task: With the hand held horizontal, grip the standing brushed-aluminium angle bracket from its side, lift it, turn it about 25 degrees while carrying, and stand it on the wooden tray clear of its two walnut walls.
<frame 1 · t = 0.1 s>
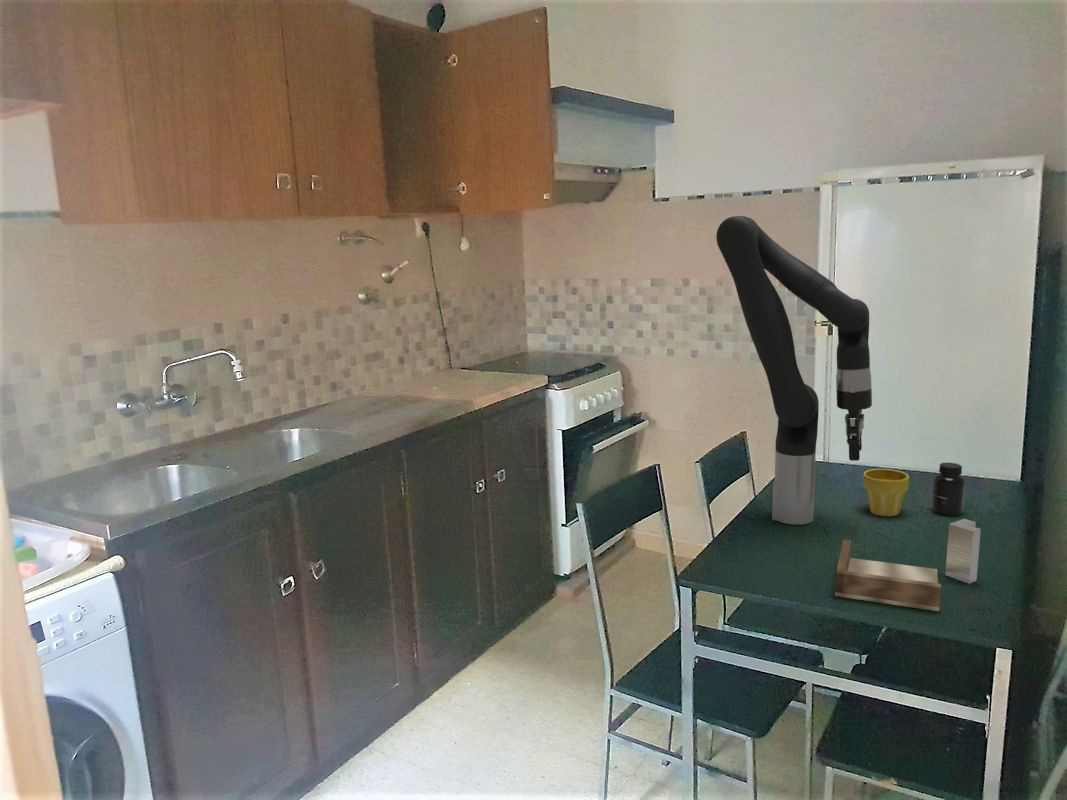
hand: (855, 455, 186), 17 cm above the table, tool pointing down, fingers open, 8 cm apart
supplement bottle: (946, 512, 196), on the table
bracket: (964, 576, 160), on the table
plant pot: (884, 512, 197), on the table
wooden tray: (887, 584, 158), on the table
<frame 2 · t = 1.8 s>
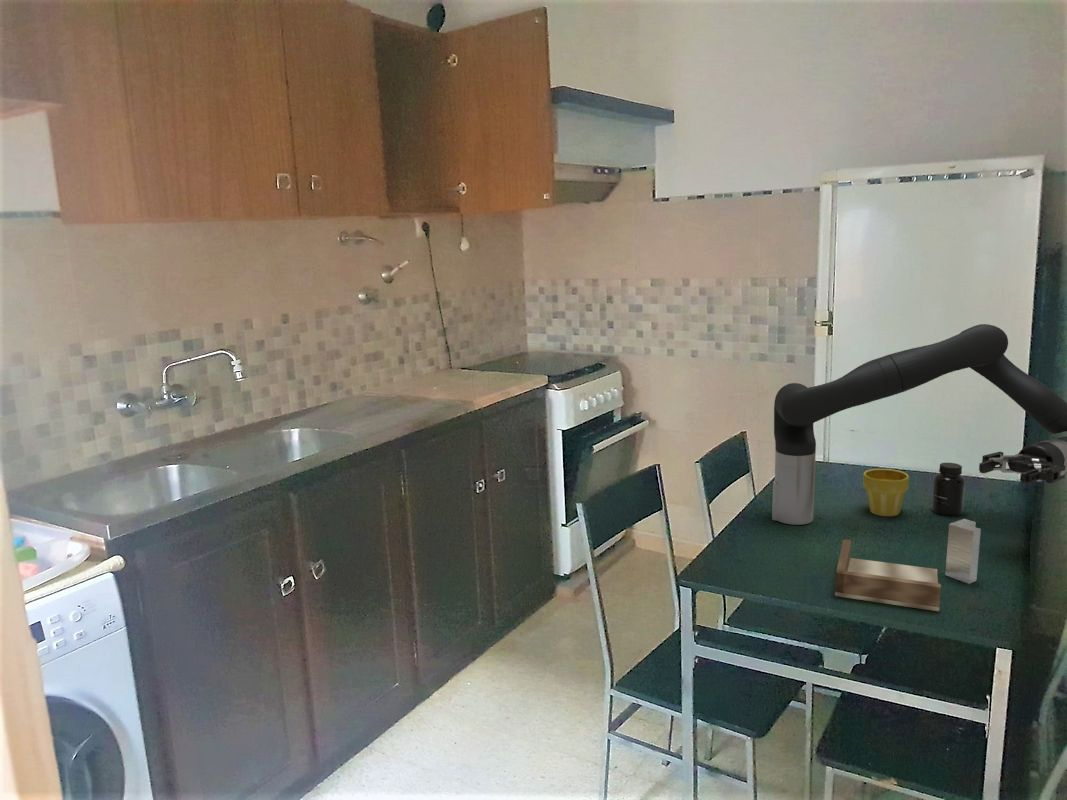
hand: (1002, 473, 161), 20 cm above the table, tool horizontal, fingers open, 8 cm apart
nothing on the table moved.
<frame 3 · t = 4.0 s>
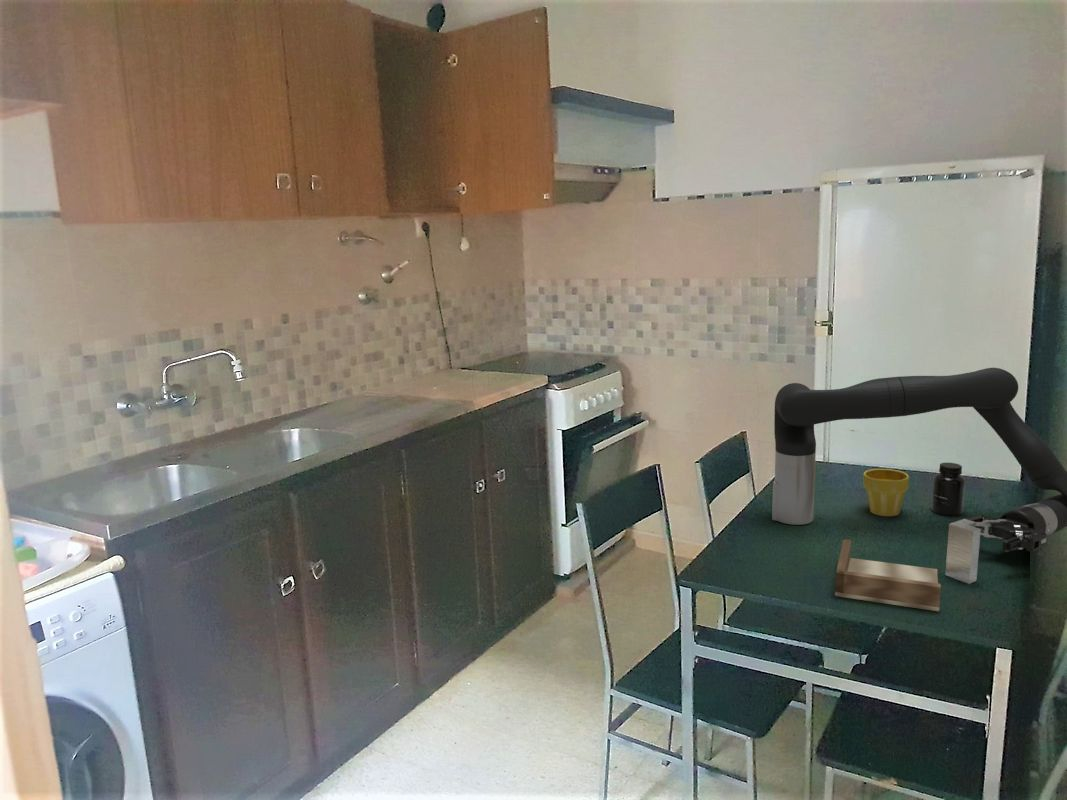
hand: (983, 540, 162), 6 cm above the table, tool horizontal, fingers open, 8 cm apart
nothing on the table moved.
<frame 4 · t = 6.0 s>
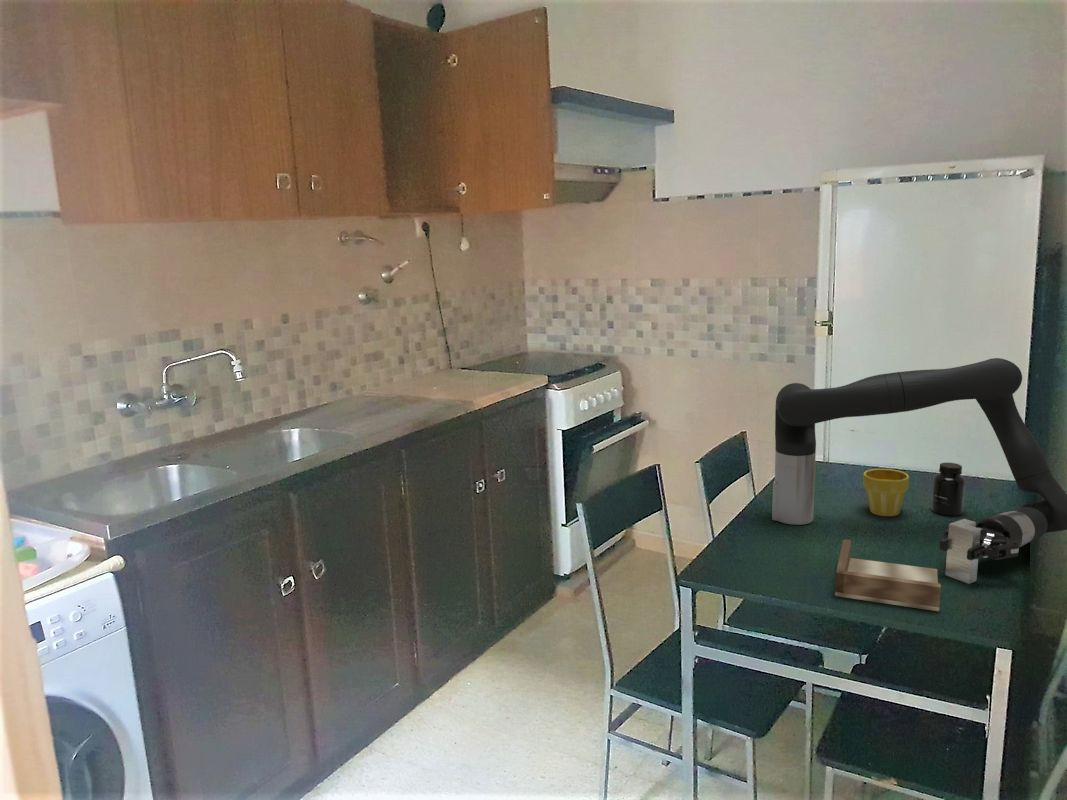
hand: (955, 550, 157), 7 cm above the table, tool horizontal, fingers closed on bracket, 5 cm apart
bracket: (964, 576, 160), on the table, touching gripper
everything else where it was.
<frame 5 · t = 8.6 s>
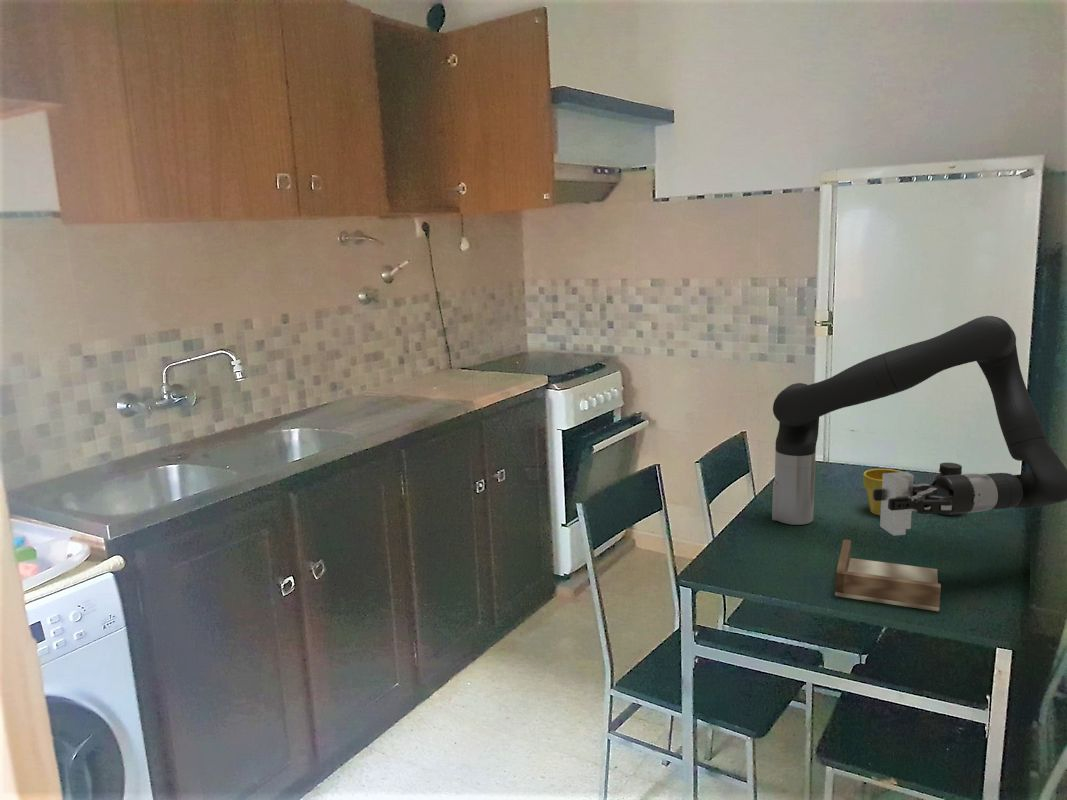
hand: (881, 499, 154), 18 cm above the table, tool horizontal, fingers closed on bracket, 5 cm apart
bracket: (898, 529, 156), point 11 cm above the table, touching gripper
everything else where it was.
when the fingers open (9 cm above the table, at t = 10.8 s): bracket drops 1 cm, resting on wooden tray.
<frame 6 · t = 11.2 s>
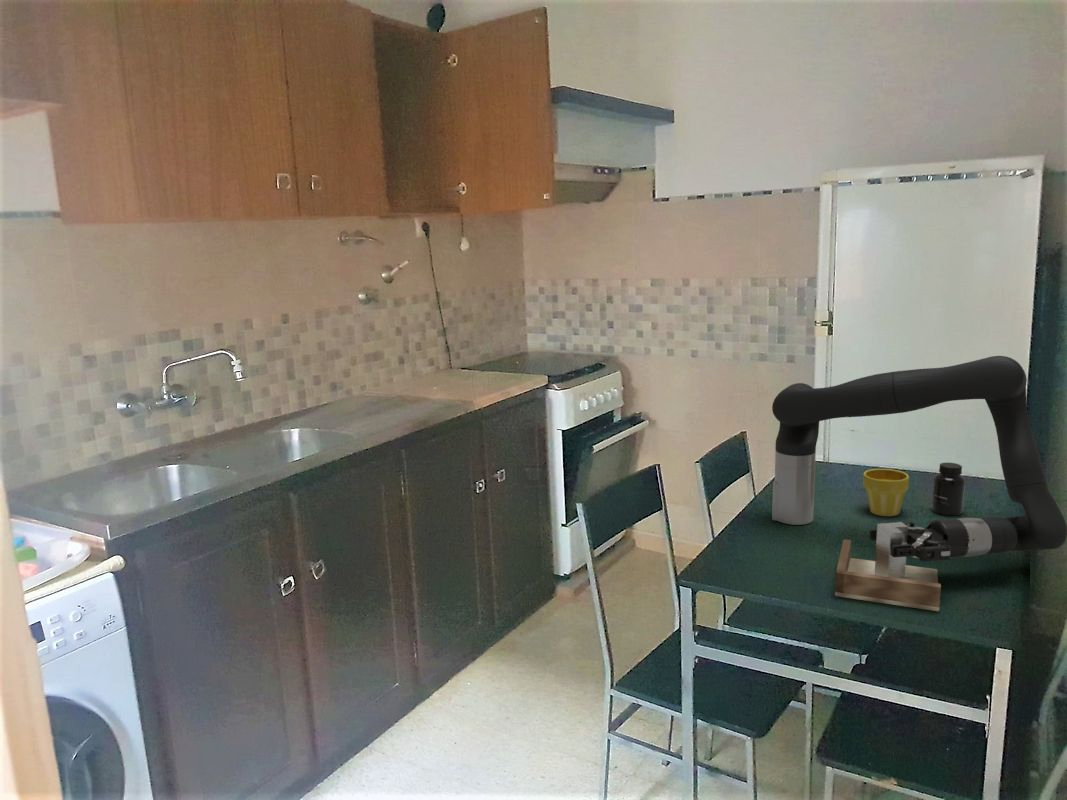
hand: (880, 543, 156), 9 cm above the table, tool horizontal, fingers open, 8 cm apart
bracket: (893, 579, 158), point 1 cm above the table, touching wooden tray
everything else where it was.
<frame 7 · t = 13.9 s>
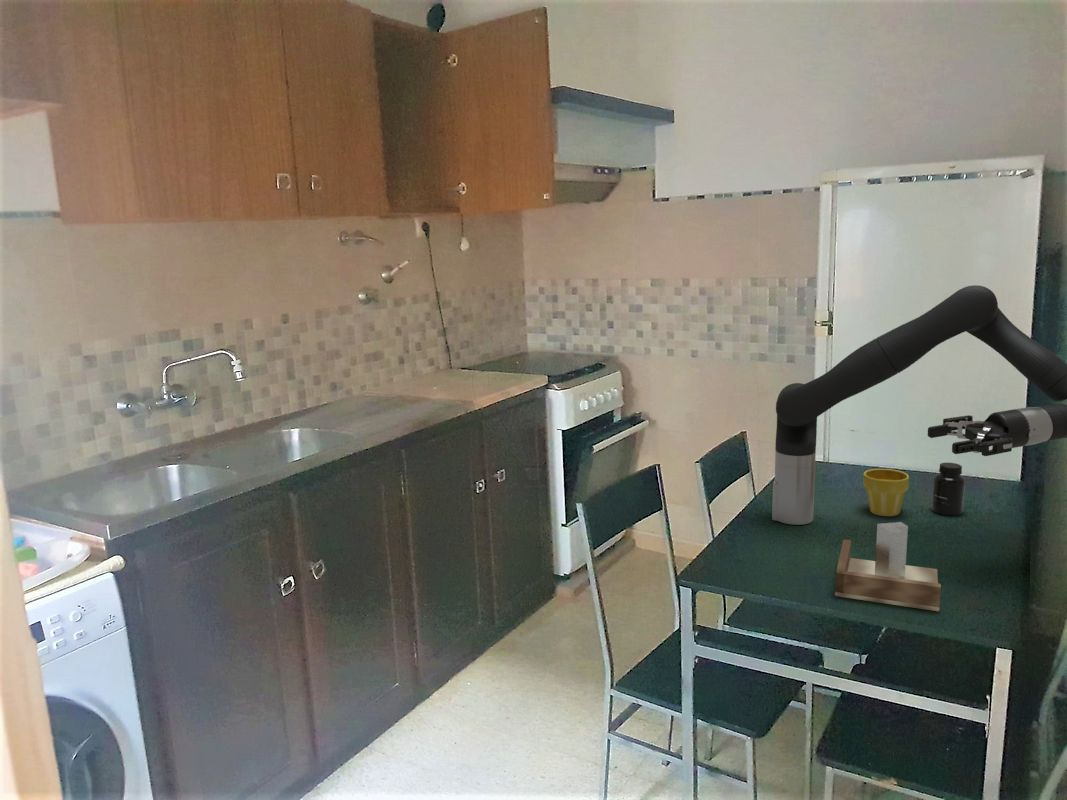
hand: (940, 440, 158), 28 cm above the table, tool horizontal, fingers open, 8 cm apart
nothing on the table moved.
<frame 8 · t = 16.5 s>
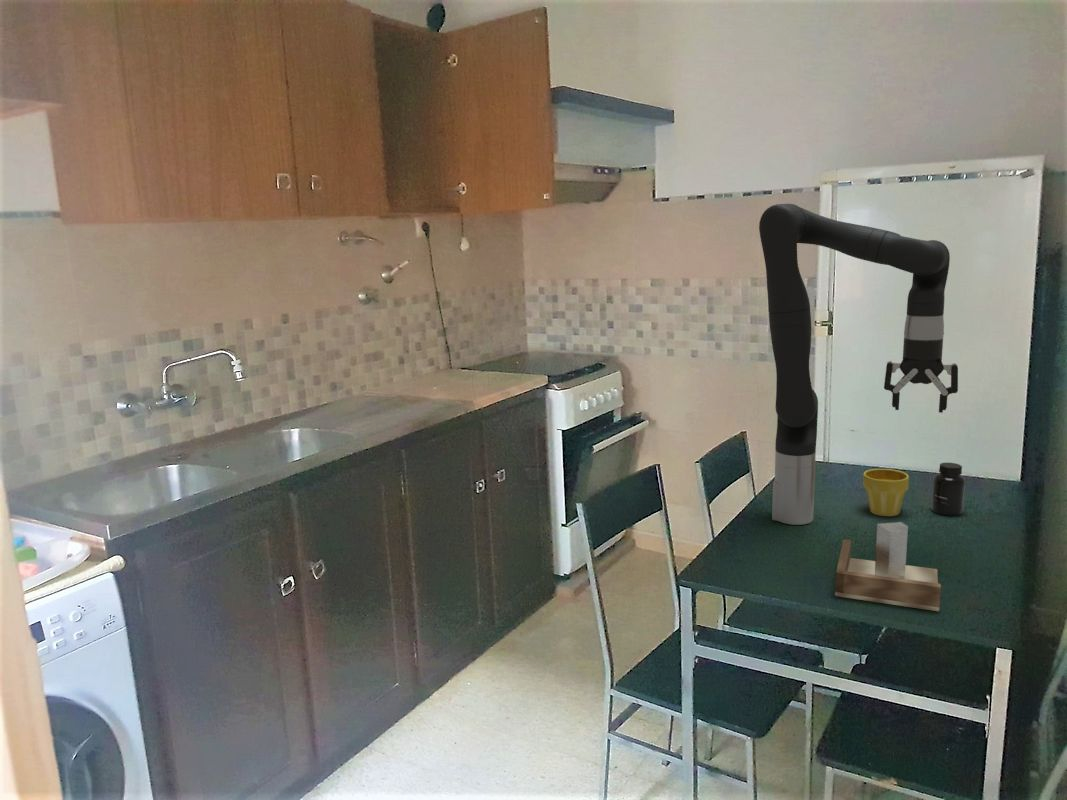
hand: (918, 410, 172), 30 cm above the table, tool pointing down, fingers open, 8 cm apart
nothing on the table moved.
at the end: bracket inside the target area on the wooden tray (1.6 cm from its centre), point 0.8 cm above the wooden tray's base; bracket tilted 0°; the gripper is holding nothing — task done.
